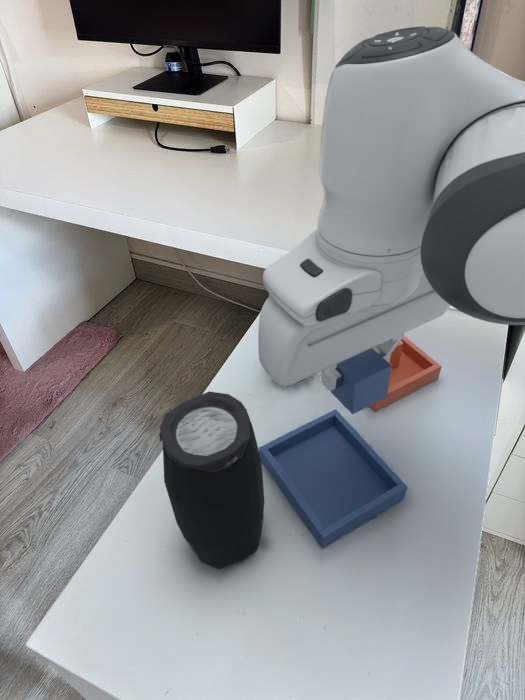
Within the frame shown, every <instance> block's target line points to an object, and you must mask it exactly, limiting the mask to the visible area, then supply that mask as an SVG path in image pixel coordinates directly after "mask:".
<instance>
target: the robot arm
mask: <svg viewBox="0 0 525 700" xmlns="http://www.w3.org/2000/svg"><path fill="white" fill-rule="evenodd" d="M340 58H341V59H340V60H339V61H338V62H337V64H336V65H335V66H334V68H333V70H332V72H331V75H330V77H329V81H328V85H327V89H326V94H325V101H324V106H323V115H322V122H321V124H322V125H321V131H320V132H321V134H320V135H321V136H320V147H319V164H318V165H319V167H318V173H319V180H320V181H319V182H320V184H321V189H322V195H323V196H322V197H323V198H322V204H321V207H320V209H319V212H318V216H317V221H316V222H317V223H316V229H315V230H314V231H313V232H311V233H310V234H308V235H307V237H305V239H303V241H301V242H300V243H299V244H297V245H296V246H294V248H293V249H291V250H289V252H287V253H285V254H284V255H283V256H281V257H280V258H278V259H277V260H276V261H274V262H272V263H271V264H270V265H268V266H267V267H266V268H265V270H263V275H262V284H263V287H264V288H265V290H266V291H267V293H268V297H267V299H266V300H265V301H264V302H263V304H262V306H261V310H260V313H259V319H258V335H257V339H258V341H257V345H258V359H259V361H260V366H262V368H263V369H264V371H265V372H266V374H267V375H268V376H269V377H270V378H271V380H273V381H274V383H276V384H278V385H279V386H282V387H284V388H287V387H290V386H293V385H295V384H297V383H299V382H301V381H303V380H305V379H308V378H310V377H312V376H314V375H316V374H319V373H321V374H320V381H321V384H322V385H323V386H324V387H325V389H326V390H327V391H328V392H330V391H333V390H335V389H336V388H338V387H340V386H342V385H343V379H344V375H343V374H342V373H341V372H340V371H338V369H337V368H336V367H337V364H338V363H340V362H343V361H345V360H347V359H349V358H351V357H353V356H356V355H358V354H360V353H362V352H364V351H366V350H369V349H371V348H372V349H373V350H375V351H376V352H377V353H378V354H379V355H380V356H382V357H383V358H384V359H385V360H386V361H387V362H389V361H390V356H391V353H392V352H393V351H394V349H395V348H396V346H397V345H398V344H399V342H400V341H401V340H402V338H403V335H404V336H405V333H408V332H410V331H413V330H415V329H416V328H419V327H421V326H423V325H425V324H427V323H429V322H431V321H434V320H437V319H438V318H440V317H442V316H444V314H446V312H447V311H448V310H449V308H451V307H453V309H456V310H457V311H459V312H461V313H463V314H465V315H468V316H469V317H472V318H475V319H477V320H480V321H484V322H488V323H491V324H497V325H506V326H525V81H524V80H520V79H518V78H515V77H513V76H511V75H508V74H506V73H505V72H503V71H501V70H500V69H497V68H495V67H494V66H492V65H491V64H489V63H487V62H486V61H485V60H484V59H481V58H480V57H479V56H478V55H476V54H475V53H473V51H471V50H470V48H468V46H466V45H465V44H464V43H463V41H462V40H461V39H460V38H459V36H458V34H456V33H455V32H454V31H452V30H450V29H446V28H444V27H440V26H427V27H426V26H412V27H404V28H398V29H394V30H389V31H386V32H382V33H378V34H375V35H374V36H371V37H370V38H365V39H363V40H362V41H360V42H359V43H357V44H356V45H354V46H352V47H351V49H349V50H348V51H347V52H346V53H345V54H343V56H342V57H340ZM269 294H270V296H269ZM450 306H451V307H450Z"/></svg>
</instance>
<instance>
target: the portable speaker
mask: <svg viewBox="0 0 525 700" xmlns="http://www.w3.org/2000/svg"><path fill="white" fill-rule="evenodd" d="M159 431H160V432H159V433H158V434H159V442H162V447H161V448H162V461H163V481H164V485H165V490H166V492H167V495H168V499H169V502H170V506H171V508H172V513H173V516H174V520H175V523H176V525H177V527H178V529H179V530H180V533H181V534H182V537H183V539H184V540H185V541H186V542H187V544H188V545H189V546H190V548H191V549H192V551H193V552H194V553H195V554H196V556H197V558H198V560H199V561H200V563H202V564H204V565H206V566H209V567H211V568H214V569H215V570H220V569H224V568H227V567H230V566H233V565H235V564H238V563H241V562H243V561H244V560H245V559H247V558H249V557H250V556H253V555H254V554H255V553H256V552H257V551H258V549H259V545H260V540H261V536H262V530H263V529H262V528H263V526H264V522H265V520H264V517H265V515H264V509H265V489H264V475H263V463H262V460H261V456H260V453H259V445H258V442H257V439H256V435H255V431H254V427H253V424H252V421H251V417H250V415H249V413H248V410H247V408H246V407H245V405H244V404H243V403H242V401H241V400H238V399H237V398H236V397H234V396H233V395H231V394H229V393H223V392H216V391H210V390H209V391H207V392H204V393H202V394H200V395H197V396H195V397H192V398H190V399H188V400H187V399H186V400H185V401H183V402H182V403H180V404H178V405H177V406H176V407H174V408H172V409H171V410H170V411H168V412H167V413H164V416H163V419H162V421H161V424H160V427H159Z"/></svg>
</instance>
